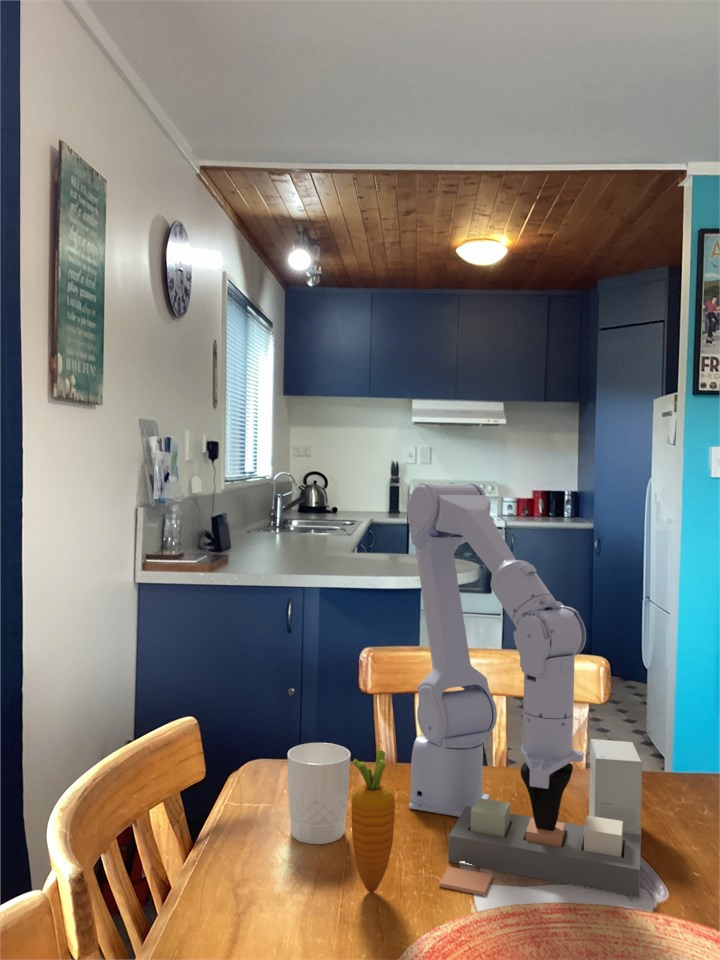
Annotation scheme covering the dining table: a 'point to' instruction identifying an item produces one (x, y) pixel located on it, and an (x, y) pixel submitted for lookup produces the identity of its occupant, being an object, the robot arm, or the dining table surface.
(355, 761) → the carrot
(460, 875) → the tile
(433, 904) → the dining table surface
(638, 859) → the keypad
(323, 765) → the white cup
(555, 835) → the key terracotta
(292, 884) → the dining table surface
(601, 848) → the key cream
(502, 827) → the key sage
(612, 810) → the small box
